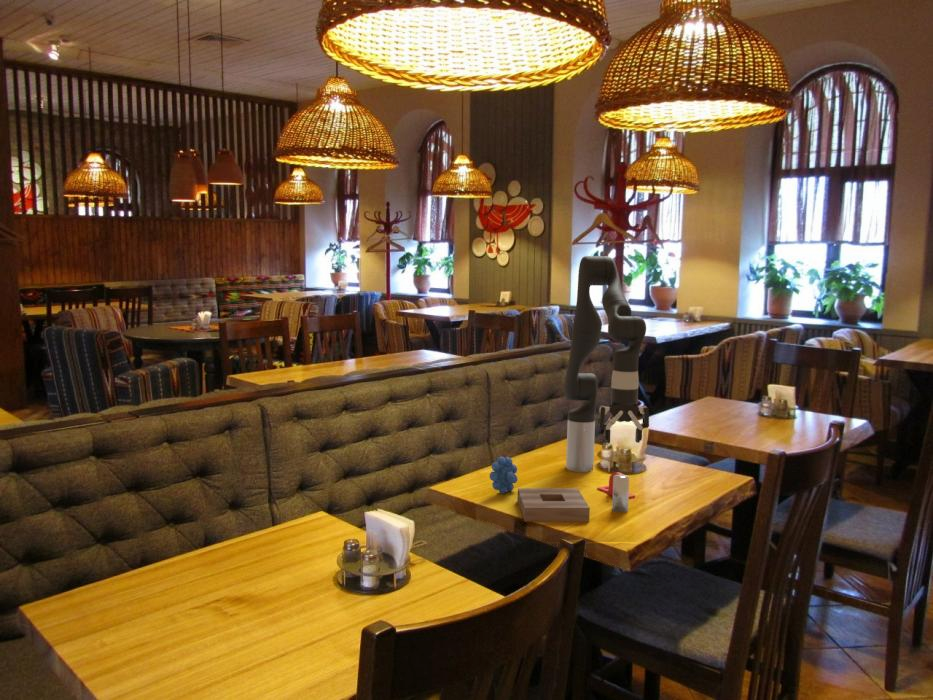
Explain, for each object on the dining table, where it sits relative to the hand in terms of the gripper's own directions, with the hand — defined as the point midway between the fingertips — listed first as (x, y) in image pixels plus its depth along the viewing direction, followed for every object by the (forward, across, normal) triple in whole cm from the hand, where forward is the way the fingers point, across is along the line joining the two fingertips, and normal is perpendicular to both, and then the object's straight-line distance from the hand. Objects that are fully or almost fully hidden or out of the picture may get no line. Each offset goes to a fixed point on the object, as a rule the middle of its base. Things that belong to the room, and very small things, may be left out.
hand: (622, 442), depth 222 cm
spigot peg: (+20, 0, 0) cm, 20 cm away
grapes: (+20, +32, -15) cm, 41 cm away
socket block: (+20, +20, +1) cm, 28 cm away
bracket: (+20, -2, -15) cm, 26 cm away
